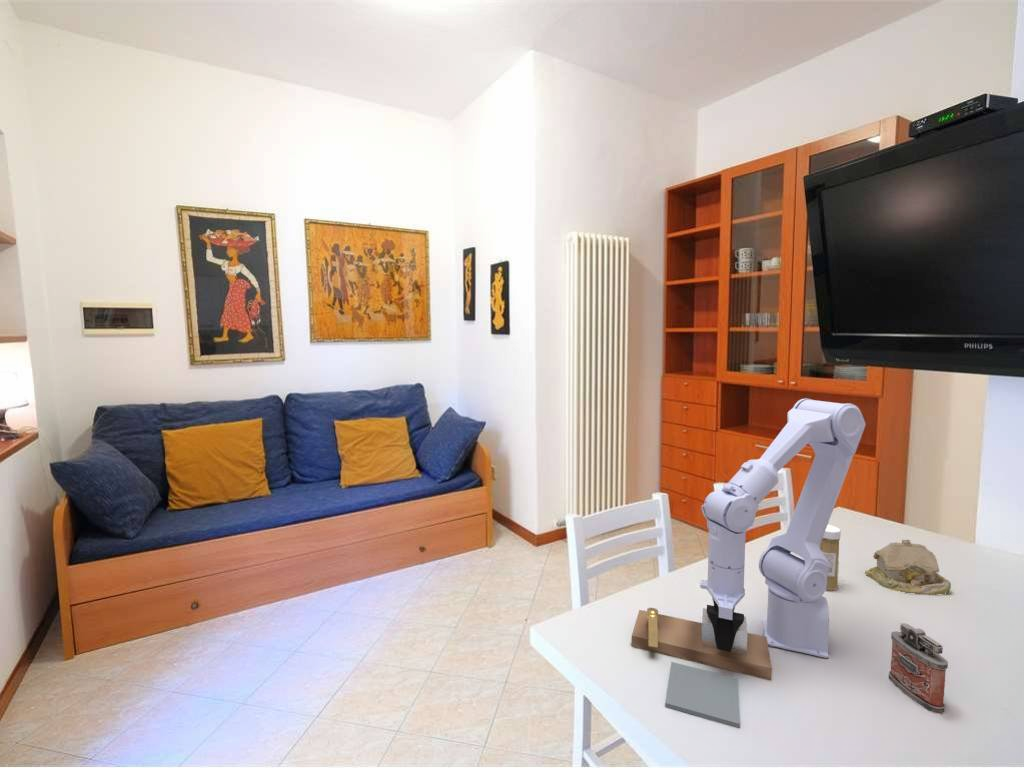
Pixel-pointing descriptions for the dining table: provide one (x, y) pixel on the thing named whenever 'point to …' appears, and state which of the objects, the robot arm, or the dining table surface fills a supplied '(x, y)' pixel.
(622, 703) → the dining table surface
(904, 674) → the lighter
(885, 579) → the ceramic model
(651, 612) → the lever
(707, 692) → the mat
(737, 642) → the light grey block
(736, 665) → the brown wooden board
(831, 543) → the sprinkles bottle
